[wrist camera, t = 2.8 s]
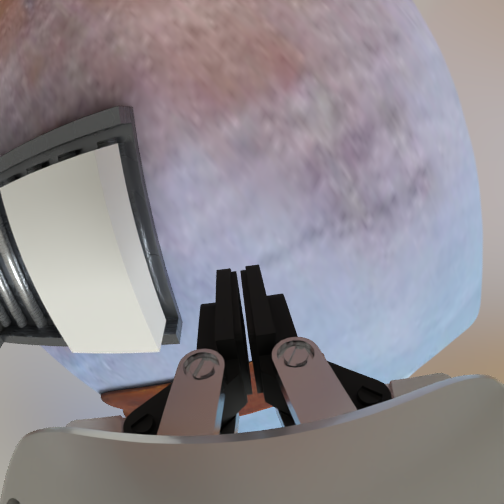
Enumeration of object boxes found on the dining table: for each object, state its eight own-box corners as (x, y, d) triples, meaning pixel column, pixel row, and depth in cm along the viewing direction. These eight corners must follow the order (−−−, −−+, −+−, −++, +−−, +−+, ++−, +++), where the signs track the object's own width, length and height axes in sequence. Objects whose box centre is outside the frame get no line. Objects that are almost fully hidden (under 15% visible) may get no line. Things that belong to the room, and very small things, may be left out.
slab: (28, 174, 12) (-1, 188, 9) (117, 143, 12) (94, 150, 10) (85, 325, 18) (72, 352, 15) (166, 320, 18) (159, 351, 15)
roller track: (-48, 193, 12) (-80, 213, 8) (132, 107, 13) (97, 104, 9) (7, 327, 20) (-12, 357, 15) (182, 322, 21) (176, 370, 16)
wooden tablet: (143, 425, 30) (141, 435, 29) (96, 387, 26) (93, 398, 24) (334, 384, 28) (338, 395, 27) (322, 332, 24) (327, 345, 22)
